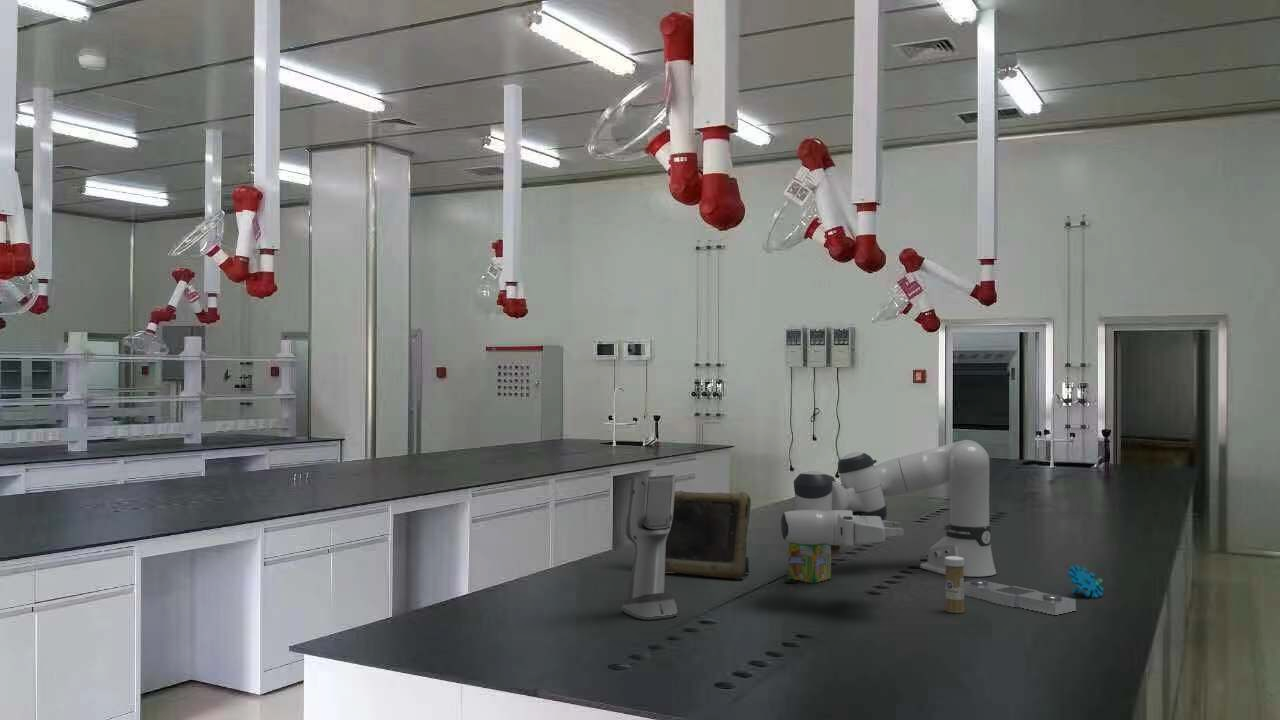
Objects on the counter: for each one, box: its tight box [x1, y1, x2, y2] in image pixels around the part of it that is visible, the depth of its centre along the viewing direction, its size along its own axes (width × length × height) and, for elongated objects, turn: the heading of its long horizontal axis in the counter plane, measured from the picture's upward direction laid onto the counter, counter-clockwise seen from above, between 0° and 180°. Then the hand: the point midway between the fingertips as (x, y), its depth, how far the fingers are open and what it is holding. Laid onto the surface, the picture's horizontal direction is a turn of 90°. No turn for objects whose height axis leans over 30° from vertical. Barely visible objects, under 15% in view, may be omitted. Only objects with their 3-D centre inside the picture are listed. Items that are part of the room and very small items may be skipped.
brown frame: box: [665, 490, 752, 580], centre depth 294 cm, size 33×14×25 cm, turn 68°
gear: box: [1067, 564, 1104, 599], centre depth 259 cm, size 11×6×10 cm
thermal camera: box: [621, 474, 678, 617], centre depth 245 cm, size 12×13×35 cm
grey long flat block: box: [964, 579, 1077, 616], centre depth 251 cm, size 29×10×4 cm, turn 32°
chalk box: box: [788, 542, 832, 584], centre depth 283 cm, size 9×9×15 cm
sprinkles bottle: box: [945, 556, 965, 614], centre depth 242 cm, size 5×5×13 cm
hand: (902, 528), depth 245 cm, fingers open, 8 cm apart
